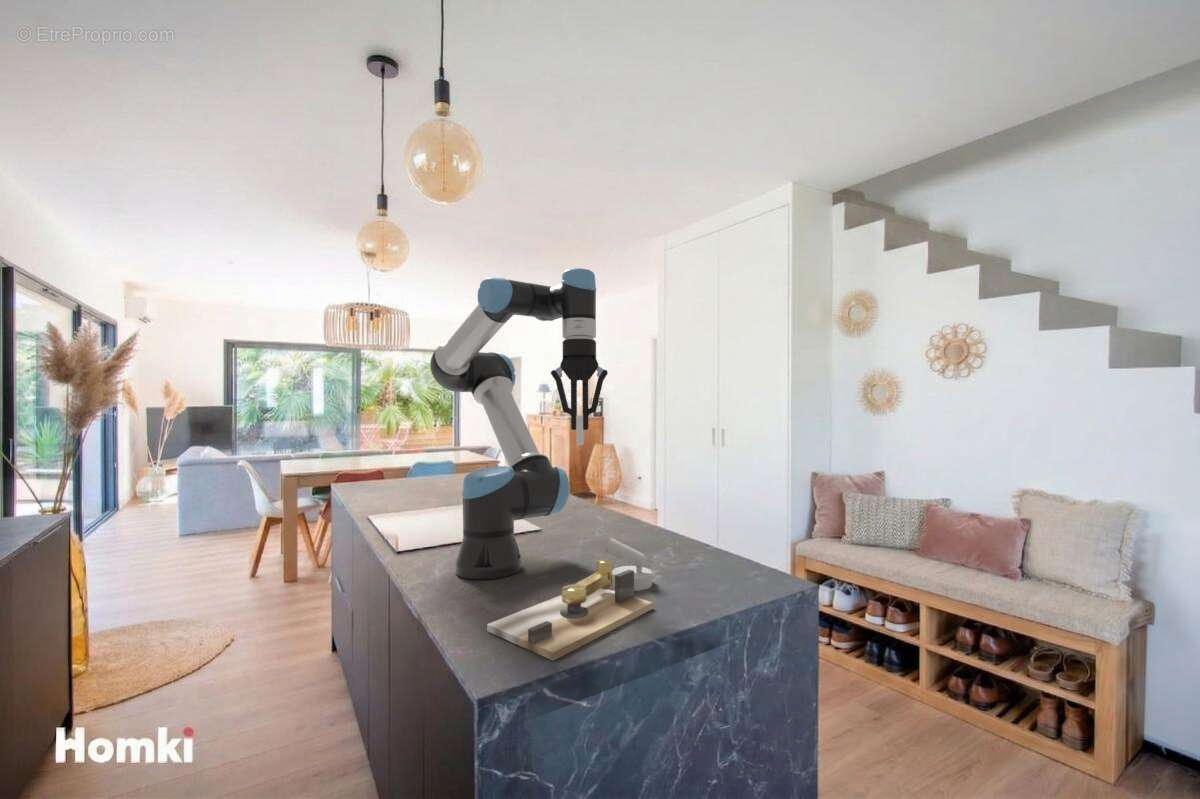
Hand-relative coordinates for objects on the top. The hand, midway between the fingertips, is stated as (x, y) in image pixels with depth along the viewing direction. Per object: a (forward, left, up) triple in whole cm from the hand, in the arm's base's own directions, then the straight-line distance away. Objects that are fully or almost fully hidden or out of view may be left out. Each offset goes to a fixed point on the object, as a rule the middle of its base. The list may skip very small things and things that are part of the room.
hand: (580, 444), depth 117 cm
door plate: (+15, -18, -29) cm, 38 cm away
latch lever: (+14, -13, -27) cm, 33 cm away
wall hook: (+11, +3, -30) cm, 32 cm away
